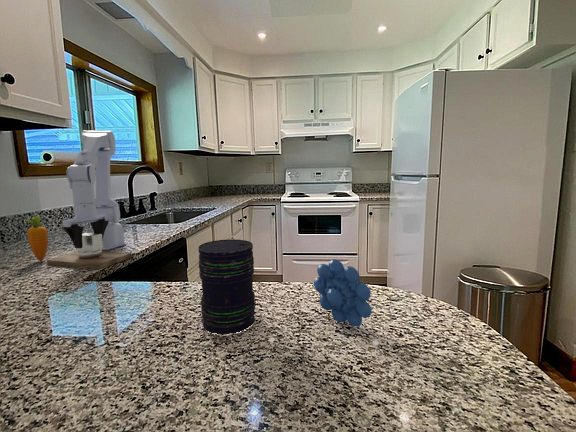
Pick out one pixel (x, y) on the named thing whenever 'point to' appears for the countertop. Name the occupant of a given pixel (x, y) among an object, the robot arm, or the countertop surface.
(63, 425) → the countertop surface
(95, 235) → the cap
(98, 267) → the lock board
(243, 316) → the dark blue cylinder
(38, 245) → the carrot
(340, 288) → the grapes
